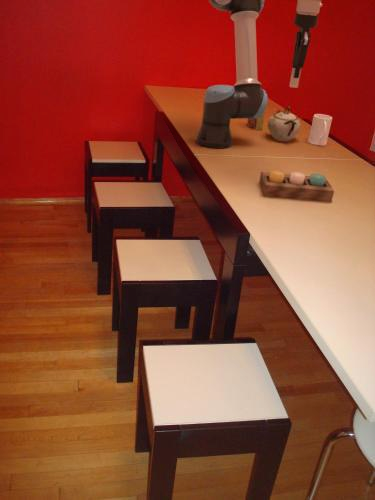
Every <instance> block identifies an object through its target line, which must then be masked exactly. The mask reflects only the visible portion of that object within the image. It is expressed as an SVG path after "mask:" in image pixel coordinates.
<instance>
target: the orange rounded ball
mask: <svg viewBox="0 0 375 500" xmlns="http://www.w3.org/2000/svg"><path fill="white" fill-rule="evenodd" d="M269 173H270V176H269V182H274V183H283V179H284V174H285V172H283V171H281V170H277V169H271V170H270V171H269Z"/></svg>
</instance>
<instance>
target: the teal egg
mask: <svg viewBox="0 0 375 500" xmlns="http://www.w3.org/2000/svg"><path fill="white" fill-rule="evenodd" d="M310 176H311V178H310V183H309V185H310V186H321V187H323V186H324V182H325V178H326V176H325V175H324V174H320V173H312V174H310ZM326 179H327V178H326Z"/></svg>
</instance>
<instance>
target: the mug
mask: <svg viewBox="0 0 375 500" xmlns="http://www.w3.org/2000/svg"><path fill="white" fill-rule="evenodd" d="M332 122H333V116H330V115H329V114H322V113H315V114H313V117H312V123H311V127H310V133H309V136H308V139H307V142H308V143H309V144H311V145H313V146H323V147H324V146H326V145H327V144H328V138H329V133H330V130H331V124H332Z"/></svg>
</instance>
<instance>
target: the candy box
mask: <svg viewBox="0 0 375 500" xmlns="http://www.w3.org/2000/svg"><path fill="white" fill-rule="evenodd" d="M265 116H266V110H265V111H264V113H263V115H262V116H260V117H259V118H252V119H249V118H247V120H246V125H247V126H248V127H250V128H252V129H254V130H255V131H262V130H263V128H264V121H265Z"/></svg>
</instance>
